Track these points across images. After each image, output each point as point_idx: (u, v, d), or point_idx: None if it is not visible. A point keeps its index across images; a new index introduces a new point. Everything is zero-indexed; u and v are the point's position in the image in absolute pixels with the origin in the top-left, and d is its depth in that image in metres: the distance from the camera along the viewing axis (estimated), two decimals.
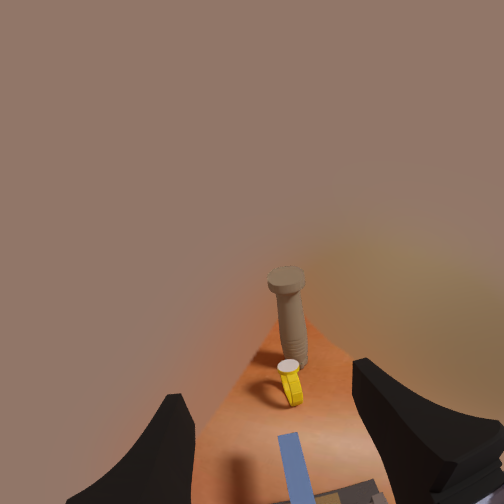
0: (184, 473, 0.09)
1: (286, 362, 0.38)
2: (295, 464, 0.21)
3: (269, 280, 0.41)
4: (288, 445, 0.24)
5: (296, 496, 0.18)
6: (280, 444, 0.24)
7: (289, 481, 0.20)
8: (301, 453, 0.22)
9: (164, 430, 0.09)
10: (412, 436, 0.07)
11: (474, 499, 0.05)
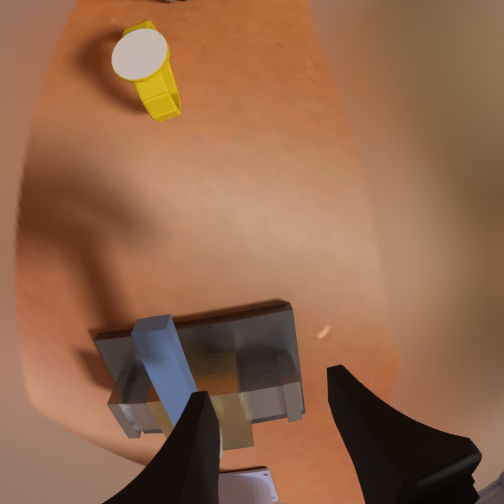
0: (212, 471, 0.09)
1: (135, 41, 0.11)
2: (174, 389, 0.15)
3: None
4: (155, 355, 0.14)
5: None
6: (140, 352, 0.14)
7: (169, 411, 0.15)
8: (180, 372, 0.15)
9: (195, 428, 0.09)
10: (377, 449, 0.07)
11: None
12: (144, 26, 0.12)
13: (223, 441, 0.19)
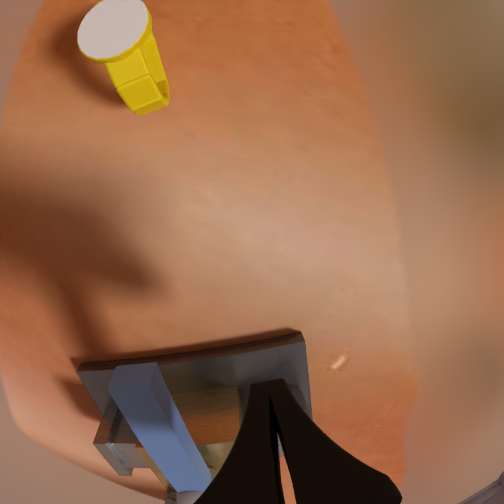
0: (277, 463, 0.09)
1: (107, 11, 0.08)
2: (164, 446, 0.11)
3: None
4: (139, 412, 0.11)
5: (178, 481, 0.12)
6: (121, 407, 0.10)
7: (161, 465, 0.12)
8: (170, 430, 0.11)
9: (267, 418, 0.09)
10: (290, 472, 0.07)
11: None
12: None
13: None
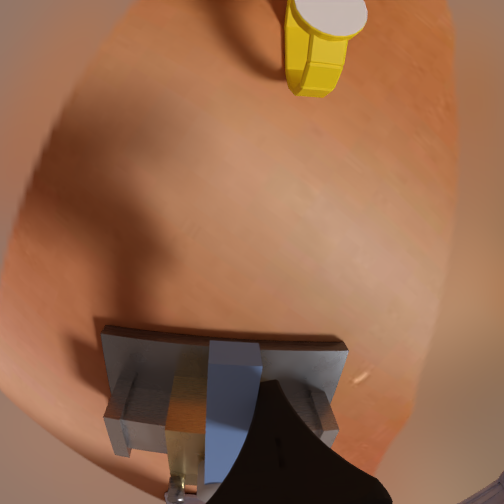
0: None
1: None
2: (231, 433, 0.11)
3: None
4: (229, 393, 0.10)
5: (215, 471, 0.12)
6: (210, 387, 0.10)
7: (210, 453, 0.12)
8: (250, 417, 0.11)
9: (276, 417, 0.09)
10: (281, 474, 0.07)
11: None
12: None
13: None
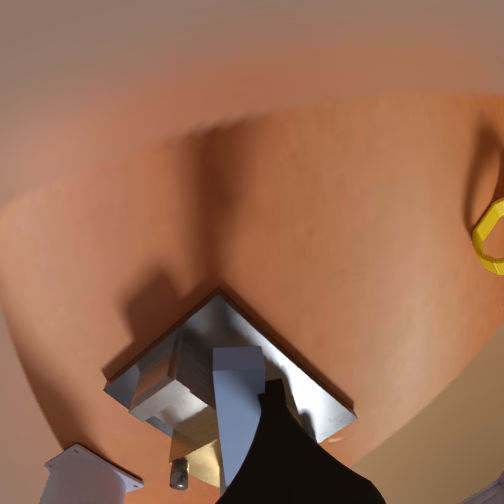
0: None
1: None
2: (244, 435, 0.11)
3: None
4: (237, 397, 0.11)
5: (235, 474, 0.12)
6: (217, 393, 0.11)
7: (227, 457, 0.12)
8: None
9: (284, 415, 0.09)
10: (274, 475, 0.07)
11: None
12: None
13: None
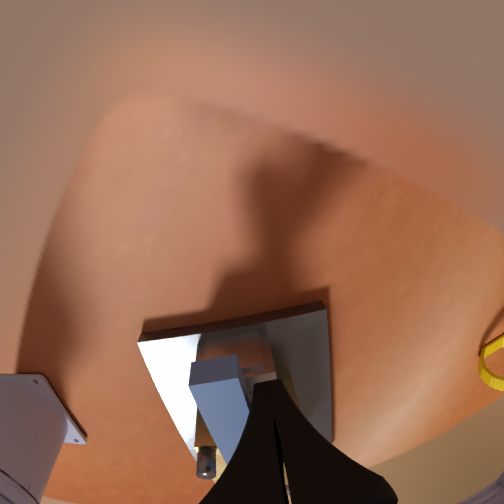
0: (281, 462, 0.09)
1: None
2: None
3: None
4: (219, 408, 0.11)
5: None
6: (200, 406, 0.11)
7: None
8: None
9: (271, 417, 0.09)
10: (286, 473, 0.07)
11: None
12: None
13: None
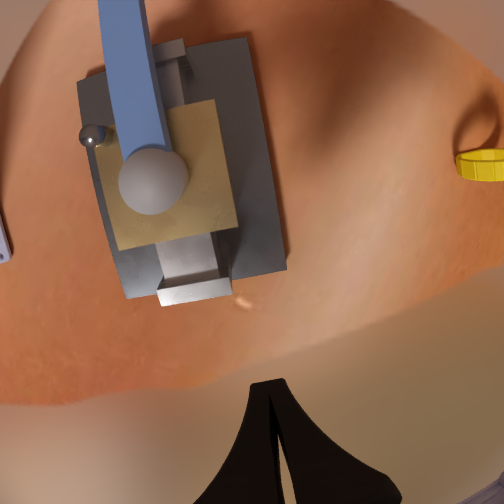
0: (277, 463, 0.09)
1: None
2: (126, 48, 0.10)
3: None
4: (115, 6, 0.09)
5: (128, 123, 0.11)
6: (100, 7, 0.09)
7: (114, 89, 0.10)
8: (138, 21, 0.10)
9: (267, 418, 0.09)
10: (290, 472, 0.07)
11: None
12: None
13: None
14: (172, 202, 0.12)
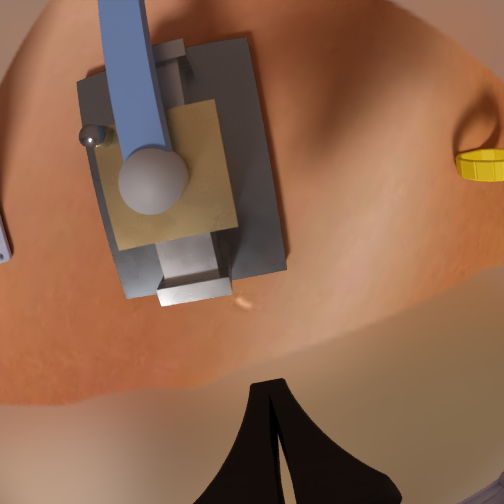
0: (277, 463, 0.09)
1: None
2: (126, 48, 0.10)
3: None
4: (115, 6, 0.09)
5: (128, 123, 0.11)
6: (100, 7, 0.09)
7: (114, 89, 0.10)
8: (138, 21, 0.10)
9: (267, 418, 0.09)
10: (290, 472, 0.07)
11: None
12: None
13: None
14: (172, 202, 0.12)
